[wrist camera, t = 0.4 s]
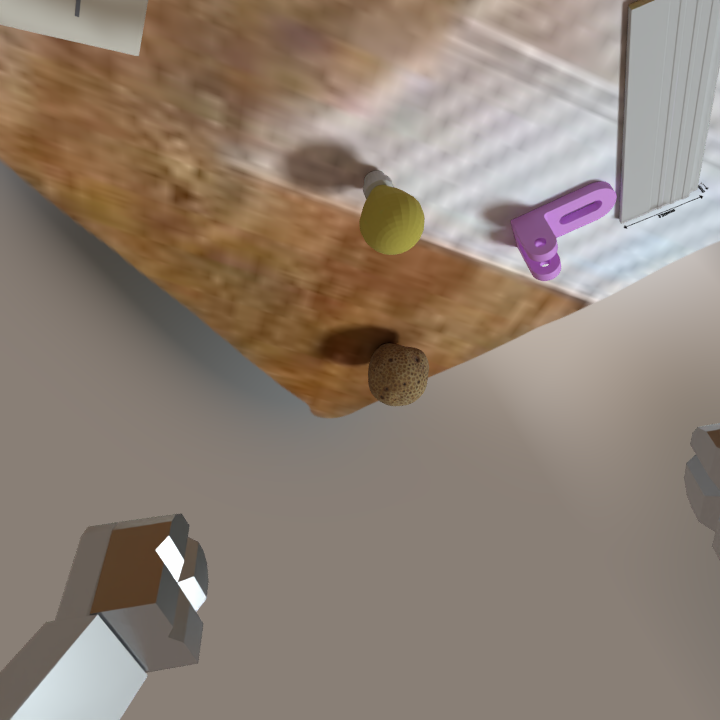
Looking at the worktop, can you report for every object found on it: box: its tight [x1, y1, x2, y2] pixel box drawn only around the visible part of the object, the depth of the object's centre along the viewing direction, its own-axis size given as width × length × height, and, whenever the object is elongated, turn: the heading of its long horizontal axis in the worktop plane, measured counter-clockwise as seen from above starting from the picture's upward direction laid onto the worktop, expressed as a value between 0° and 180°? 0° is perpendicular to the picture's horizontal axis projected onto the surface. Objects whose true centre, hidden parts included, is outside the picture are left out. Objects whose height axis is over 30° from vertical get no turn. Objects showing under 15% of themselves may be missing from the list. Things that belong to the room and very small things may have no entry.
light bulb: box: [360, 171, 424, 255], centre depth 70 cm, size 7×7×10 cm
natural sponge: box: [368, 343, 429, 406], centre depth 97 cm, size 9×9×10 cm
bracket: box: [511, 182, 617, 281], centre depth 84 cm, size 13×6×7 cm, turn 111°
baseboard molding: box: [619, 0, 720, 229], centre depth 76 cm, size 31×3×12 cm
